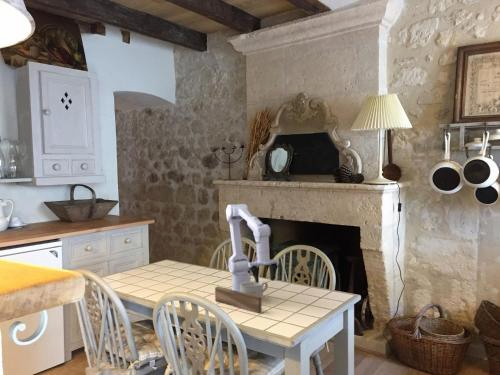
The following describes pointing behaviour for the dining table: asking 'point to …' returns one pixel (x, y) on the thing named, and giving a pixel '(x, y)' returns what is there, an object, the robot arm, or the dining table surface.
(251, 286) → the teacup
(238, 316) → the dining table surface
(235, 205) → the robot arm
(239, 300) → the wall board
